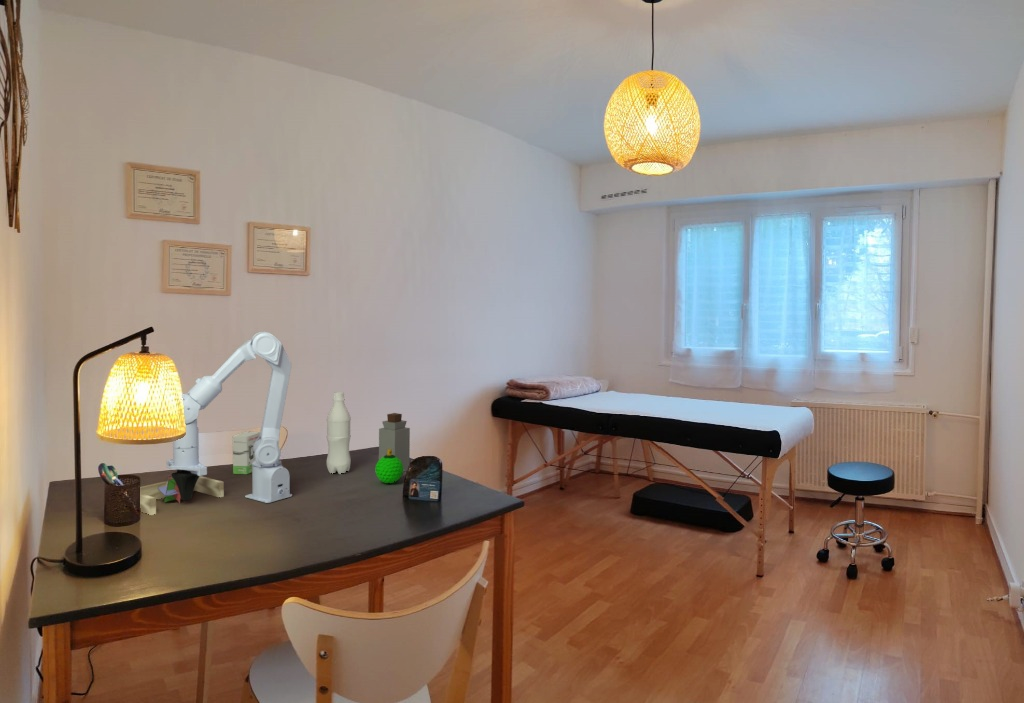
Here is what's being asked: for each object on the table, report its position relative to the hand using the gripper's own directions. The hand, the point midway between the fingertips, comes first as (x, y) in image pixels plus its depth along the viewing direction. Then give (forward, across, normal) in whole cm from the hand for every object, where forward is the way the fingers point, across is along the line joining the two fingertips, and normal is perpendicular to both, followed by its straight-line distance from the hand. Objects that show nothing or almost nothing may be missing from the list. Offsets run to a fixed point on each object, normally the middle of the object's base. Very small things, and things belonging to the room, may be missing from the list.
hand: (186, 499), depth 160 cm
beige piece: (+1, -4, 0) cm, 5 cm away
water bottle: (+2, +6, +45) cm, 45 cm away
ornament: (+2, +28, +45) cm, 53 cm away
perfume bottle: (+2, +18, +57) cm, 60 cm away
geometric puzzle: (+2, -5, 0) cm, 6 cm away
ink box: (+2, -18, +30) cm, 35 cm away
